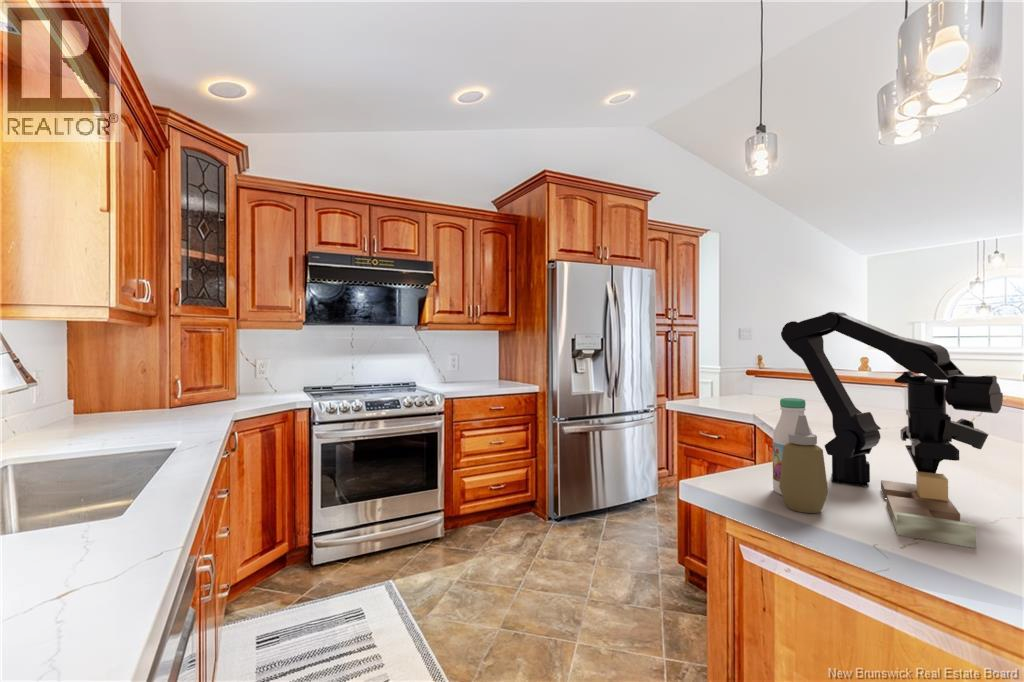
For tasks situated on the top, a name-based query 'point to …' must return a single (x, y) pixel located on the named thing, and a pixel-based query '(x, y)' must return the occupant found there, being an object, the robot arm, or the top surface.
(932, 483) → the block
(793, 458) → the squeeze bottle
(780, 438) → the milk bottle
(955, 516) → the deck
